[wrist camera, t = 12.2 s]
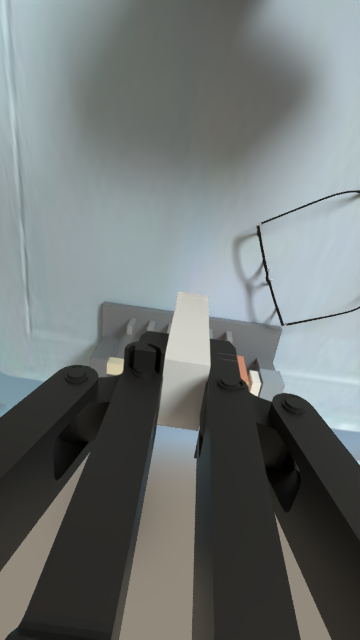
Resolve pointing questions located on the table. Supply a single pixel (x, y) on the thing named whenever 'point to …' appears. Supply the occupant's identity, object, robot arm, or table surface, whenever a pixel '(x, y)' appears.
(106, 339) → the cable comb board
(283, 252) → the table surface
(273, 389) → the cream long bar
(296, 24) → the table surface
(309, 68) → the table surface
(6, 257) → the table surface
